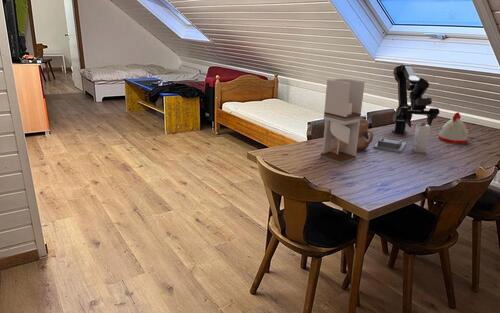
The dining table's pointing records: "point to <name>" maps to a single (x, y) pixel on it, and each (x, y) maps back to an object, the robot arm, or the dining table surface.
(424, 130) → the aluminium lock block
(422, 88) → the robot arm
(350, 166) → the dining table surface
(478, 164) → the dining table surface
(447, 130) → the cream and red dome
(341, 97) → the display case
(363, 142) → the ceramic jug
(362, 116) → the door stopper
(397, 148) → the coupler cradle
